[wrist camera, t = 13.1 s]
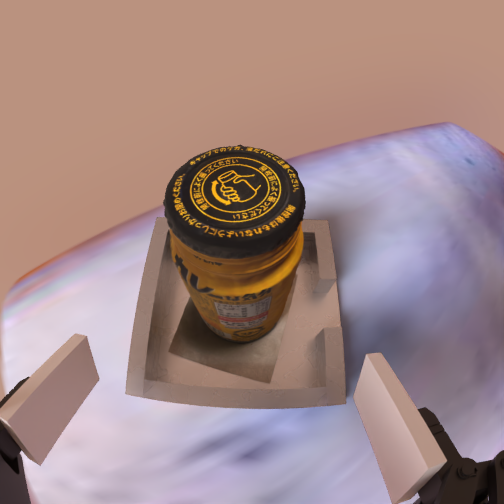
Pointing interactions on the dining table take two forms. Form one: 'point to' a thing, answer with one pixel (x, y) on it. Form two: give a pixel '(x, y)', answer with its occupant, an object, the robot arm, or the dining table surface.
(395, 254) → the dining table surface
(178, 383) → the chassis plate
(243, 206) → the condiment
